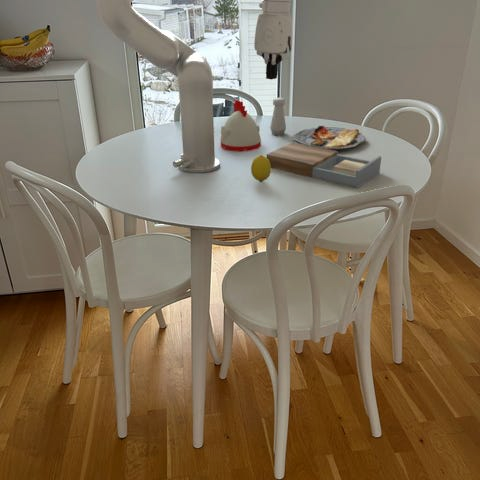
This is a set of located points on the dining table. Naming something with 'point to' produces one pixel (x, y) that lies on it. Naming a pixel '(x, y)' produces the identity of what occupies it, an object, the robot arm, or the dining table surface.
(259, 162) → the lemon
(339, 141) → the food plate
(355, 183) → the box
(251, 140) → the kitchen timer
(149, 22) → the robot arm
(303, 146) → the wooden square board
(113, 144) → the dining table surface
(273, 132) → the salt shaker
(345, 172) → the tile
